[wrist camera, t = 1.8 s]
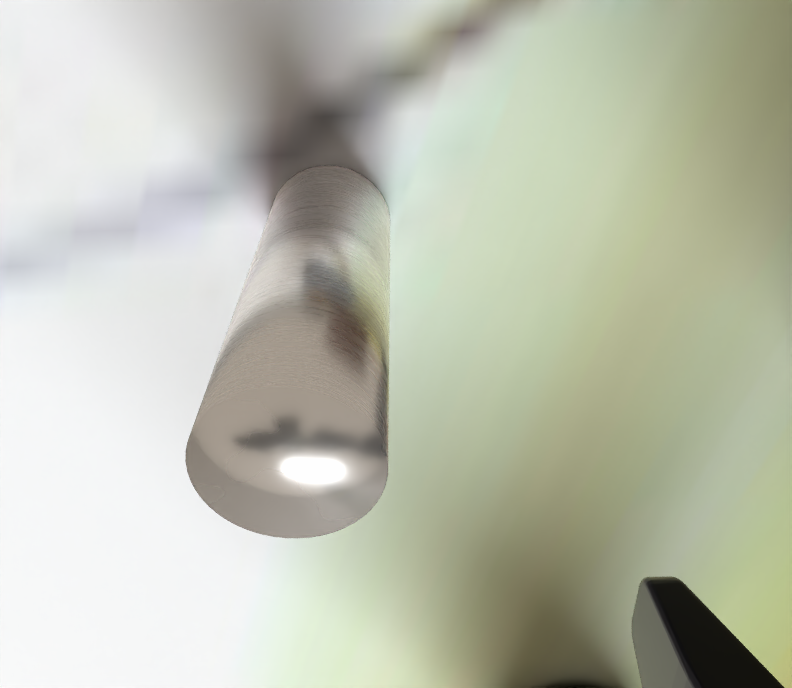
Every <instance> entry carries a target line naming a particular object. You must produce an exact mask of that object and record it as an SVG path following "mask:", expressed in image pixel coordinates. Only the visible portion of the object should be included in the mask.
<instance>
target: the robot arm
mask: <svg viewBox="0 0 792 688" xmlns="http://www.w3.org/2000/svg"><path fill="white" fill-rule="evenodd" d="M632 638H633V643H634V648H635V653H636V658H637V663H638V668H639V673H640V678H641V683H642V688H784V687H783V686H782V685H781V684H780V683H779V682H778V681H777V679H776V678H775V677H774V676H773V675H772V674H771V673H770V672H769V671H768V670H767V669H766V668H765V667H764V666H763V665H762V664H761V663H760V662H759V661H758V660H757V659H756V658H755V657H754V656H753V655H752V653H751V652H750V651H749V650H748V649H747V648H746V647H745V646H744V645H743V644H742V643H741V642H740V641H739V640H738V639H737V638H736V637H735V636H734V635H733V634H732V633H731V632H730V631H729V630H728V629H727V627H726V626H725V625H724V624H723V623H722V622H721V621H720V620H719V619H718V618H717V617H716V616H715V615H714V614H713V613H712V612H711V611H710V610H709V609H708V608H707V607H706V606H705V605H704V604H703V603H702V601H701V600H700V599H699V598H698V597H697V596H696V595H695V594H694V593H693V592H692V591H691V590H690V589H689V588H688V587H687V586H686V585H685V584H684V583H683V582H682V581H681V580H679V579H677V578H675V577H647V578H644V579H643V580H642V581H641V583H640V586H639V590H638V595H637V599H636V604H635V608H634V613H633V618H632Z"/></svg>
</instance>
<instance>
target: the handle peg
mask: <svg viewBox="0 0 792 688" xmlns="http://www.w3.org/2000/svg"><path fill="white" fill-rule="evenodd" d="M389 299H390V215H389V210H388V207H387V204H386V202H385V199H384V198H383V196H382V194H381V193H380V191H379V190H378V189H377V187H376V186H375V185H374V184H373V183H372V182H371V181H369V180H368V179H367V178H366V177H364V176H363V175H361V174H359V173H357V172H355V171H353V170H351V169H348V168H344V167H340V166H330V165H324V166H316V167H312V168H308V169H306V170H303V171H301V172H299V173H297V174H295V175H294V176H293V177H291V178H290V179H289V180H288V181H287V182H286V183H285V184H284V185H283V186H282V187H281V189H280V190H279V192H278V194H277V195H276V197H275V200H274V203H273V205H272V208H271V211H270V214H269V216H268V219H267V222H266V225H265V228H264V230H263V233H262V236H261V239H260V242H259V244H258V247H257V250H256V253H255V255H254V258H253V261H252V264H251V267H250V269H249V272H248V275H247V278H246V281H245V283H244V286H243V289H242V292H241V294H240V297H239V300H238V303H237V306H236V308H235V311H234V314H233V317H232V320H231V322H230V325H229V328H228V331H227V333H226V336H225V339H224V342H223V345H222V347H221V350H220V353H219V356H218V359H217V361H216V364H215V367H214V370H213V372H212V375H211V378H210V381H209V384H208V386H207V389H206V392H205V395H204V398H203V400H202V403H201V406H200V409H199V411H198V414H197V417H196V420H195V423H194V425H193V428H192V431H191V434H190V437H189V439H188V442H187V448H186V466H187V472H188V475H189V477H190V480H191V482H192V484H193V486H194V488H195V490H196V491H197V493H198V494H199V496H200V497H201V498H202V499H203V501H204V502H205V503H206V504H207V505H208V506H209V507H210V508H211V509H213V510H214V511H215V512H216V513H217V514H219V515H220V516H222V517H223V518H225V519H226V520H228V521H230V522H232V523H234V524H235V525H237V526H239V527H242V528H244V529H247V530H249V531H253V532H256V533H259V534H263V535H268V536H273V537H282V538H308V537H315V536H321V535H325V534H329V533H333V532H335V531H338V530H341V529H343V528H345V527H347V526H349V525H351V524H353V523H355V522H356V521H358V520H359V519H360V518H362V517H363V516H364V515H365V514H367V513H368V512H369V511H370V510H371V509H372V508H373V506H374V505H375V504H376V503H377V501H378V500H379V498H380V496H381V495H382V493H383V490H384V488H385V485H386V481H387V476H388V408H389Z"/></svg>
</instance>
